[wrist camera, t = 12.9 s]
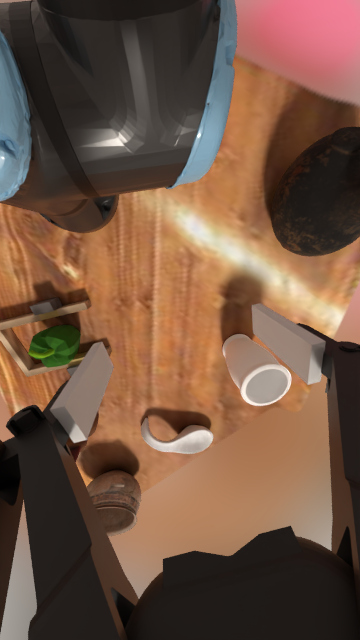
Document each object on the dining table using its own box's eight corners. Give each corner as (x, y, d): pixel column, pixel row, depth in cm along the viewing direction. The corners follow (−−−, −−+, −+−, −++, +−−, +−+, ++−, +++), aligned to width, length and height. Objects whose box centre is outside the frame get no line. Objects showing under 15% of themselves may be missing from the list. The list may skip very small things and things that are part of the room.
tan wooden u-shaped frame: (-7, 312, 39) (-21, 318, 36) (85, 290, 39) (78, 294, 36) (37, 376, 46) (28, 386, 43) (114, 357, 46) (111, 365, 43)
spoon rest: (216, 422, 60) (223, 443, 54) (201, 444, 64) (206, 467, 58) (148, 408, 55) (147, 430, 48) (137, 433, 58) (134, 457, 52)
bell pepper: (94, 336, 44) (77, 361, 34) (70, 355, 45) (47, 383, 36) (66, 311, 40) (38, 330, 31) (40, 331, 42) (7, 356, 32)
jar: (212, 340, 47) (233, 379, 34) (248, 323, 47) (285, 356, 33) (226, 368, 52) (250, 413, 38) (259, 353, 51) (296, 393, 37)
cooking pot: (132, 495, 72) (127, 542, 60) (82, 492, 67) (67, 541, 56) (151, 456, 63) (150, 502, 52) (96, 449, 59) (81, 498, 48)
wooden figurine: (100, 402, 51) (79, 459, 38) (102, 416, 54) (83, 475, 40) (75, 402, 51) (44, 461, 37) (78, 417, 53) (50, 478, 39)
